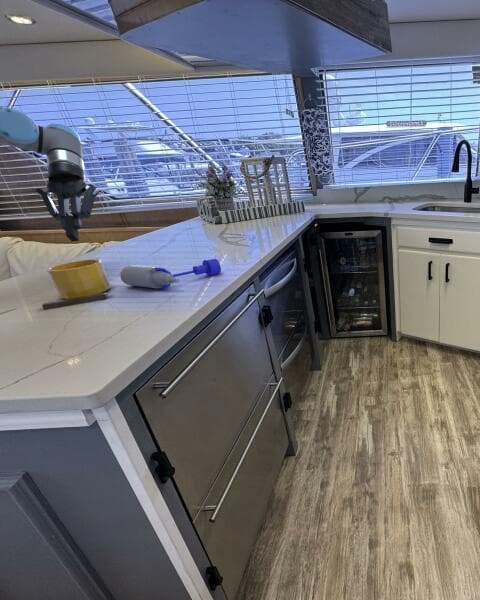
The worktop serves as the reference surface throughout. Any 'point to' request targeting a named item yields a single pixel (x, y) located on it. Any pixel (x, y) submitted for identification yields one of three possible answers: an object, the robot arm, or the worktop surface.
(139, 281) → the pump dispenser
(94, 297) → the stop bar
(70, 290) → the bowl
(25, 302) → the worktop surface
